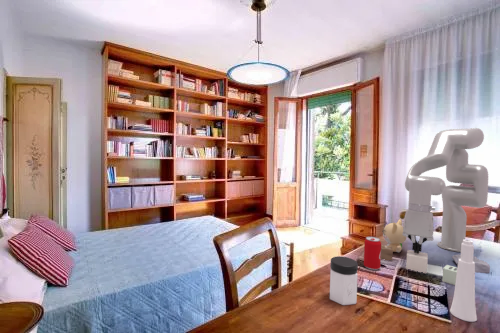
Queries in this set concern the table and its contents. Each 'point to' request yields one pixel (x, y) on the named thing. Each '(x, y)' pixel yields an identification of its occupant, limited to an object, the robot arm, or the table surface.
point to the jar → (343, 280)
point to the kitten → (394, 235)
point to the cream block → (417, 261)
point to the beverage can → (372, 253)
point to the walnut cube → (386, 252)
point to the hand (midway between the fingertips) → (416, 252)
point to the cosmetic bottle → (465, 285)
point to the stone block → (476, 264)
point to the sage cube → (449, 274)
